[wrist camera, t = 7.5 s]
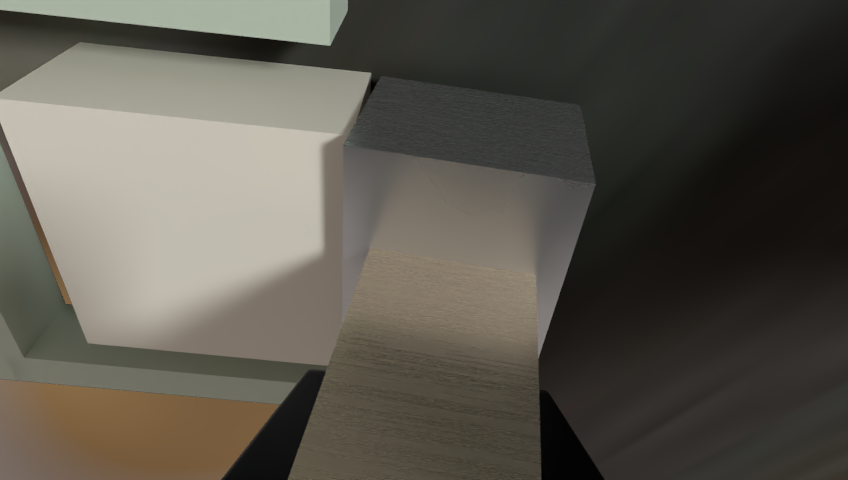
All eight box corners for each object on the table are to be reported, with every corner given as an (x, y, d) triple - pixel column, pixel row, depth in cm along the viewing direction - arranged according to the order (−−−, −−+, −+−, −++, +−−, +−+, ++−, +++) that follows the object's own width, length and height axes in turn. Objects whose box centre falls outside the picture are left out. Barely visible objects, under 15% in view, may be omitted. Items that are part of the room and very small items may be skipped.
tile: (372, 69, 12) (351, 135, 10) (363, 282, 16) (347, 367, 13) (84, 38, 12) (-10, 97, 9) (144, 260, 15) (87, 343, 13)
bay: (348, -46, 10) (330, -19, 9) (343, 353, 17) (332, 409, 15) (-155, -103, 10) (-267, -86, 9) (41, 324, 17) (-2, 379, 15)
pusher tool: (580, 104, 11) (721, 820, 3) (513, 344, 15) (501, 905, 7) (381, 76, 11) (50, 679, 3) (369, 320, 16) (210, 839, 8)
